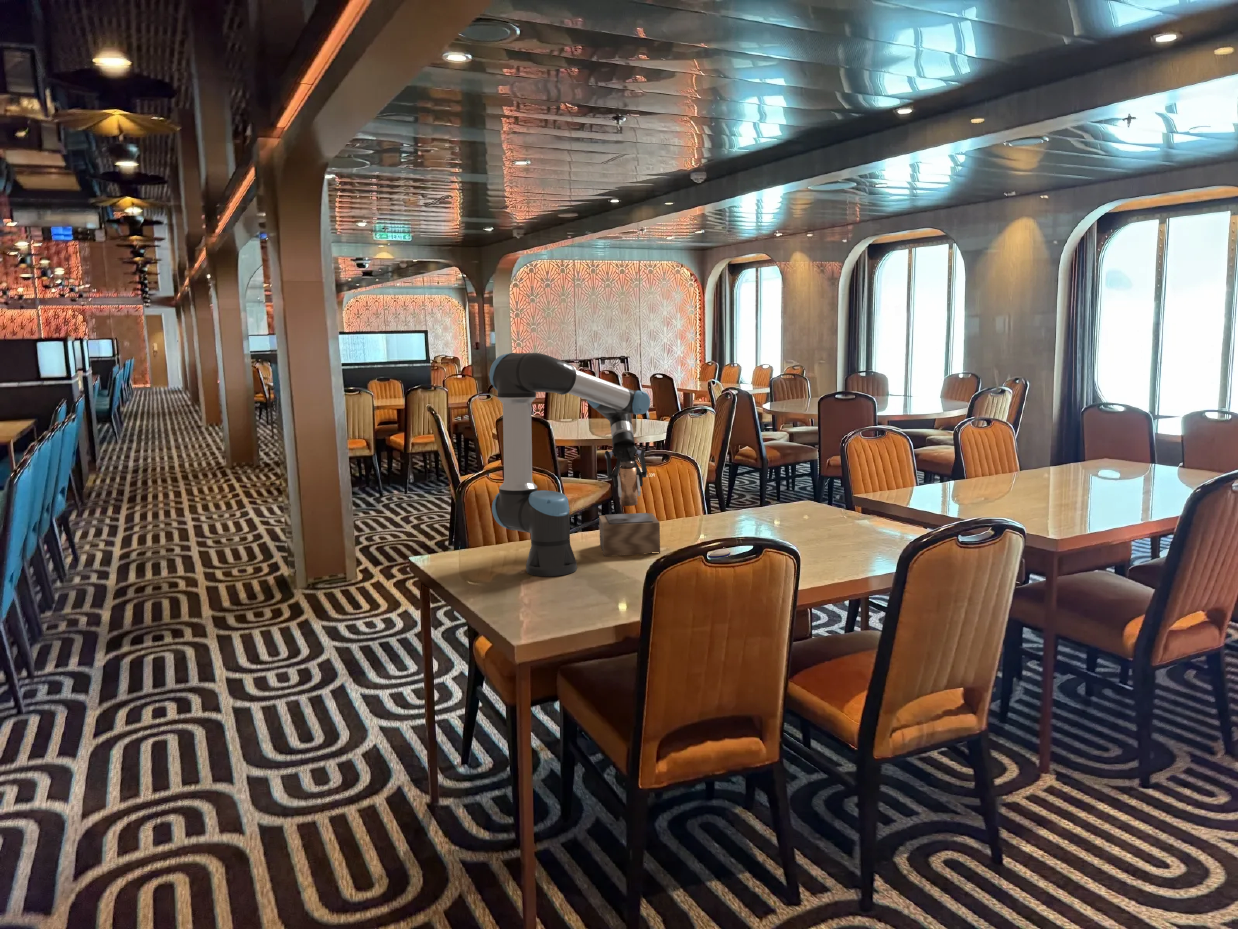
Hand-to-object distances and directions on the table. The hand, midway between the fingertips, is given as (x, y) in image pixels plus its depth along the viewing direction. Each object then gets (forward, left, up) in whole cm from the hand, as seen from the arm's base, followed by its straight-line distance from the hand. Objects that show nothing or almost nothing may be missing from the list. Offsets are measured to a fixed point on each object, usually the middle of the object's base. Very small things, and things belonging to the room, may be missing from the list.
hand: (629, 494), depth 278 cm
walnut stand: (0, +3, -19) cm, 19 cm away
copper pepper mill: (0, +4, -4) cm, 5 cm away
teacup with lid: (+20, -41, -19) cm, 49 cm away
